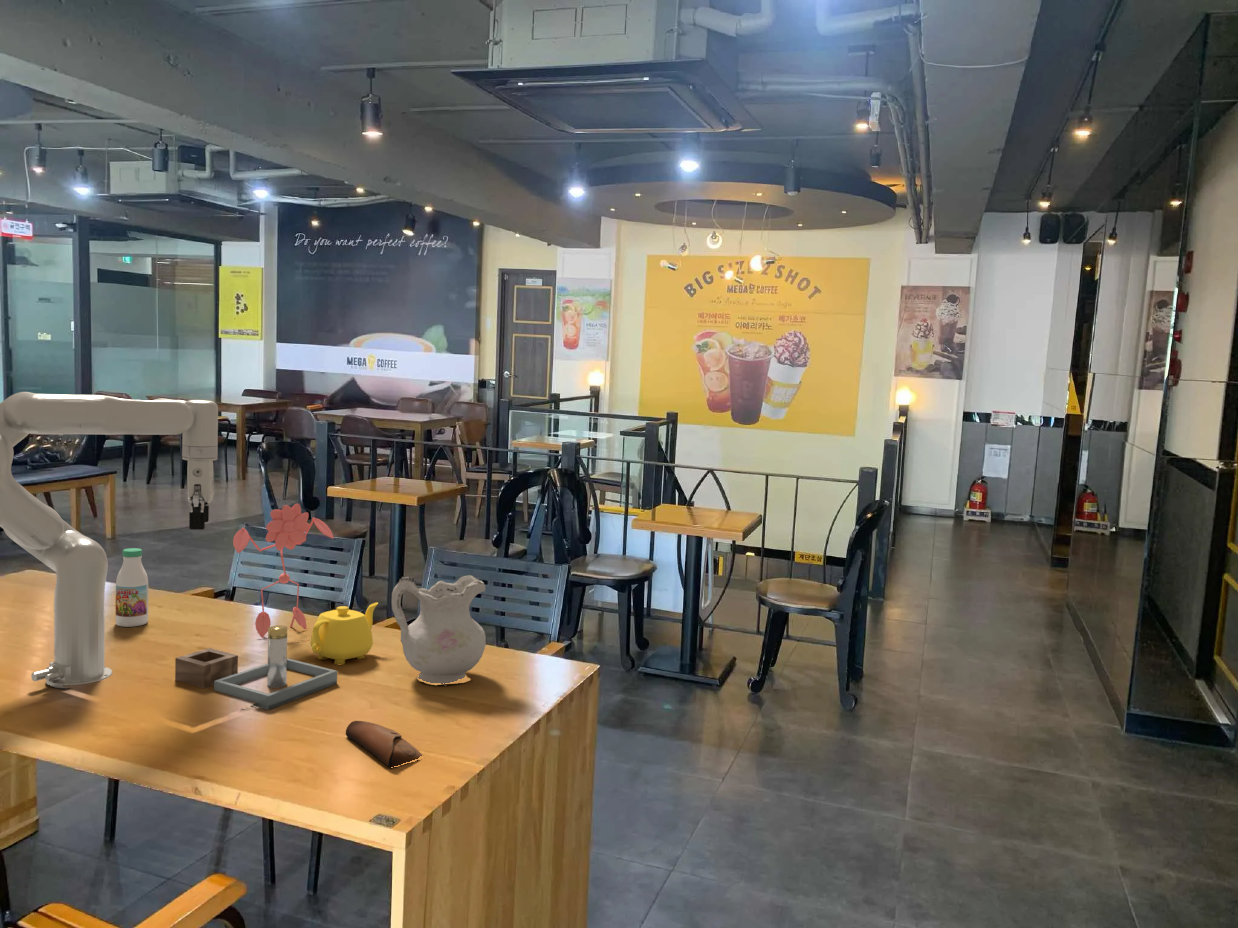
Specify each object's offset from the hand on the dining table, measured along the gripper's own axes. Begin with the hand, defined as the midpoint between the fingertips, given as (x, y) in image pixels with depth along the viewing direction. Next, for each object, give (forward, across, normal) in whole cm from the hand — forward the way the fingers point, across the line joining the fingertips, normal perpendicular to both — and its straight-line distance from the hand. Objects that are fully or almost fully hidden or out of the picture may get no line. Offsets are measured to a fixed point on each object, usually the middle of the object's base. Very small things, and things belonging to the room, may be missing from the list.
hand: (199, 525), depth 221 cm
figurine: (+32, +17, -20) cm, 42 cm away
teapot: (+33, -3, -34) cm, 47 cm away
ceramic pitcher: (+32, -23, -54) cm, 67 cm away
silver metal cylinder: (+32, -24, -18) cm, 44 cm away
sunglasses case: (+33, -61, -39) cm, 79 cm away
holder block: (+32, -18, -4) cm, 37 cm away
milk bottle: (+32, +33, +19) cm, 50 cm away
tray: (+32, -24, -18) cm, 44 cm away
